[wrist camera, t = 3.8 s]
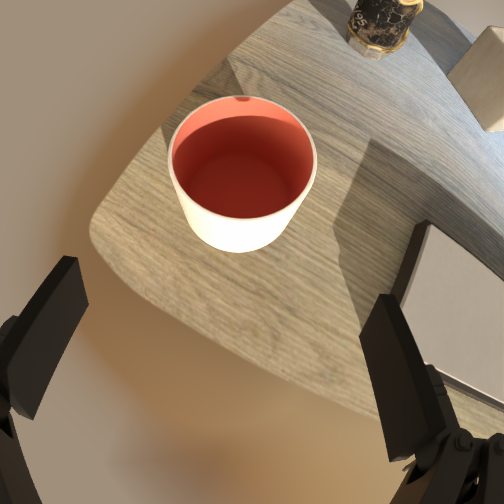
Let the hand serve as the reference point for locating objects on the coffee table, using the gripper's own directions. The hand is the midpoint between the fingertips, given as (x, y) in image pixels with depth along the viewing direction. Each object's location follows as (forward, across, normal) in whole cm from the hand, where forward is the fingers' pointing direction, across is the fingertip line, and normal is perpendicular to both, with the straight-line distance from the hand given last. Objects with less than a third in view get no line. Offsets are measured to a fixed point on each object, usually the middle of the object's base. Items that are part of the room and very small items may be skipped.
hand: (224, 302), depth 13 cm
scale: (+8, +34, -13) cm, 38 cm away
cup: (+18, 0, -4) cm, 18 cm away
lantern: (+38, +16, +17) cm, 44 cm away
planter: (+34, +37, +12) cm, 52 cm away
